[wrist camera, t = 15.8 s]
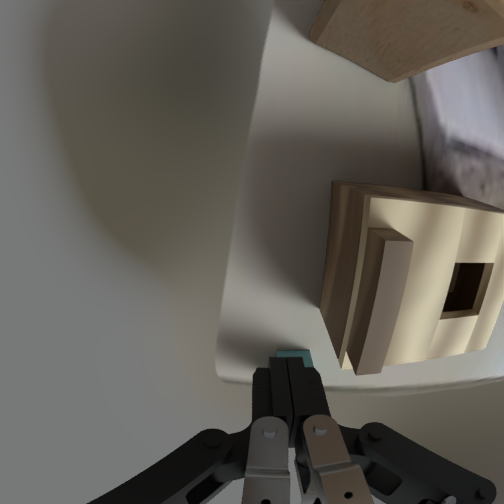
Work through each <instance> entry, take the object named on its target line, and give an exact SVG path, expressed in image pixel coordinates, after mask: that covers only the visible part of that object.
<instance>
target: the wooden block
mask: <svg viewBox="0 0 504 504" xmlns="http://www.w3.org/2000/svg"><path fill="white" fill-rule="evenodd" d="M310 40H311V41H312V42H314V43H315V44H317V45H319V46H321V47H324V48H326V49H328V50H330V51H332V52H334V53H336V54H338V55H340V56H342V57H344V58H346V59H348V60H350V61H352V62H354V63H356V64H358V65H360V66H362V67H363V68H365V69H367V70H369V71H371V72H372V73H374V74H376V75H378V76H379V77H381V78H383V79H384V80H386V81H388V82H392V83H396V82H399V81H401V80H403V79H406V78H408V77H411V76H413V75H416V74H418V73H421V72H423V71H426V70H428V69H431V68H434V67H436V66H439V65H442V64H444V63H447V62H450V61H453V60H456V59H458V58H461V57H464V56H467V55H470V54H473V53H476V52H480V51H483V50H486V49H489V48H493V47H496V46H500V45H503V44H504V0H325V1H324V3H323V5H322V7H321V9H320V11H319V13H318V15H317V18H316V20H315V22H314V24H313V26H312V28H311V30H310Z"/></svg>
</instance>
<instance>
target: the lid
mask: <svg viewBox="0 0 504 504" xmlns="http://www.w3.org/2000/svg"><path fill="white" fill-rule="evenodd" d="M455 263H485V267H484V271H483V274H482V278H481V282H480V285H479V289H478V292H477V295H476V299H475V302H474V305H473V308H472V309H469V310H460V311H450V312H442V310H443V306H444V303H445V300H446V296H447V293H448V289H449V285H450V281H451V277H452V273H453V269H454V265H455ZM503 300H504V212H500V211H494V210H488V209H481V208H475V207H468V206H462V205H454V204H447V203H439V202H432V201H423V200H414V199H405V198H396V197H385V196H374V195H365V197H364V208H363V218H362V227H361V235H360V243H359V251H358V258H357V265H356V272H355V278H354V284H353V290H352V296H351V302H350V307H349V313H348V318H347V323H346V328H345V333H344V337H343V342H342V347H341V351H340V356H339V360H338V361H339V364H340V367H341V370H343V369H353V370H354V372H355V375H367V374H376V373H381V370H382V367H383V366H387V365H395V364H403V363H410V362H417V361H424V360H430V359H436V358H441V357H447V356H452V355H457V354H462V353H467V352H472V351H476V350H480V349H485V347H486V345H487V342H488V340H489V337H490V335H491V333H492V330H493V328H494V325H495V322H496V320H497V317H498V314H499V312H500V309H501V306H502V303H503Z"/></svg>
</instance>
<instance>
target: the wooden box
mask: <svg viewBox="0 0 504 504" xmlns="http://www.w3.org/2000/svg"><path fill="white" fill-rule="evenodd" d="M365 195H374V196H385V197H396V198H405V199H414V200H423V201H432V202H439V203H447V204H454V205H462V206H468V207H475V208H481V209H488V210H494V211H500V212H504V210H502V209H500V208H497V207H494V206H491V205H488V204H485V203H482V202H479V201H476V200H473V199H470V198H467V197H464V196H458V195H452V194H445V193H438V192H431V191H424V190H417V189H409V188H400V187H392V186H382V185H372V184H362V183H350V182H337V181H332V190H331V205H330V218H329V229H328V240H327V250H326V260H325V269H324V277H323V285H322V293H321V301H320V308H319V309H320V312H321V315H322V317H323V320H324V323H325V325H326V328H327V331H328V334H329V336H330V339H331V342H332V345H333V347H334V350H335V353H336V356H337V359H339V356H340V351H341V347H342V342H343V337H344V333H345V328H346V323H347V318H348V313H349V307H350V302H351V296H352V290H353V284H354V278H355V272H356V265H357V258H358V251H359V243H360V235H361V227H362V218H363V208H364V197H365ZM484 267H485V263H455V265H454V269H453V273H452V277H451V281H450V285H449V289H448V293H447V296H446V300H445V303H444V306H443V310H442V312H450V311H460V310H469V309H472V308H473V305H474V302H475V299H476V295H477V292H478V289H479V285H480V282H481V278H482V274H483V271H484Z"/></svg>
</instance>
